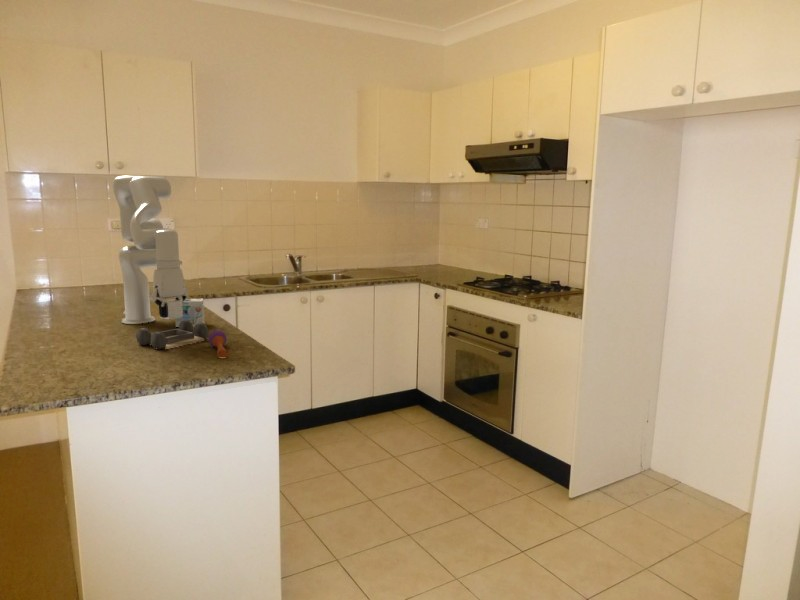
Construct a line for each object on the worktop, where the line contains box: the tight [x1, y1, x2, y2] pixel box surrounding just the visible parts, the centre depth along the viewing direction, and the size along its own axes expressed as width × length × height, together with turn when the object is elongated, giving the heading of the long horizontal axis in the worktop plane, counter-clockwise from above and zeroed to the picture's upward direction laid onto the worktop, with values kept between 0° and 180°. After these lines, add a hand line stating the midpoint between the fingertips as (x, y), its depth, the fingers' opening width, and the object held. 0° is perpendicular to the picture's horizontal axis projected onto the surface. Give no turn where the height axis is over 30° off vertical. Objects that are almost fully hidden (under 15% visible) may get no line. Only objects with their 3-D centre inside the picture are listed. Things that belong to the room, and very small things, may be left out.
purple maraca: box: [208, 329, 229, 358], centre depth 195 cm, size 6×6×20 cm
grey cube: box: [159, 298, 183, 320], centre depth 204 cm, size 6×6×6 cm
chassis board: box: [135, 320, 210, 350], centre depth 206 cm, size 16×19×6 cm
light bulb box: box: [174, 298, 205, 328], centre depth 232 cm, size 11×7×11 cm, turn 105°
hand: (171, 315), depth 205 cm, fingers closed on grey cube, 5 cm apart
